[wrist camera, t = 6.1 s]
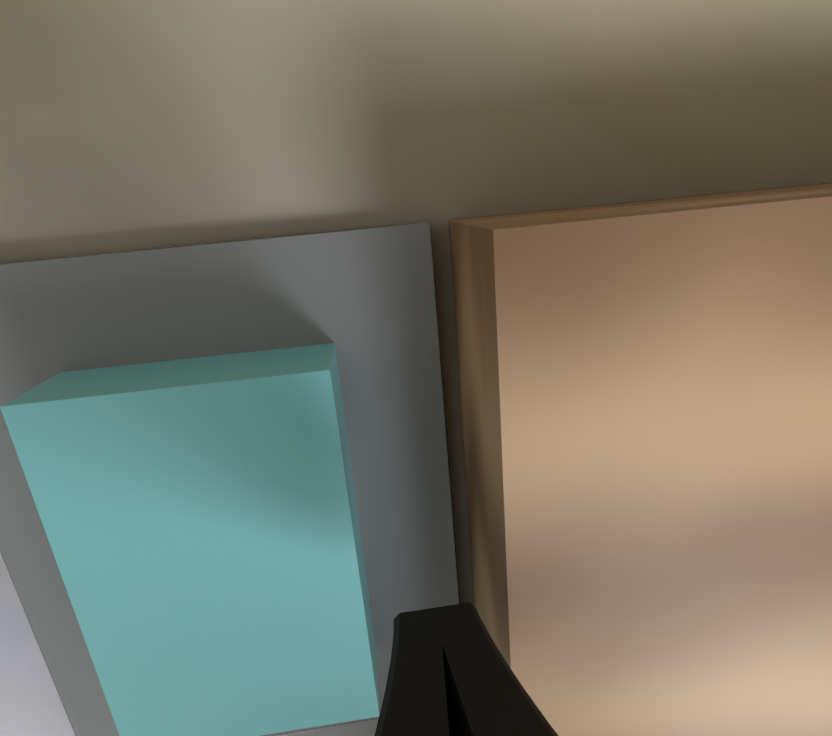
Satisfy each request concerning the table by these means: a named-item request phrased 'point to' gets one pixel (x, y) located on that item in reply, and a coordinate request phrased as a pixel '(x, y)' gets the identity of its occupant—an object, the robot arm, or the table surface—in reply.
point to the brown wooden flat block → (654, 458)
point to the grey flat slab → (237, 333)
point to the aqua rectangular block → (208, 538)
